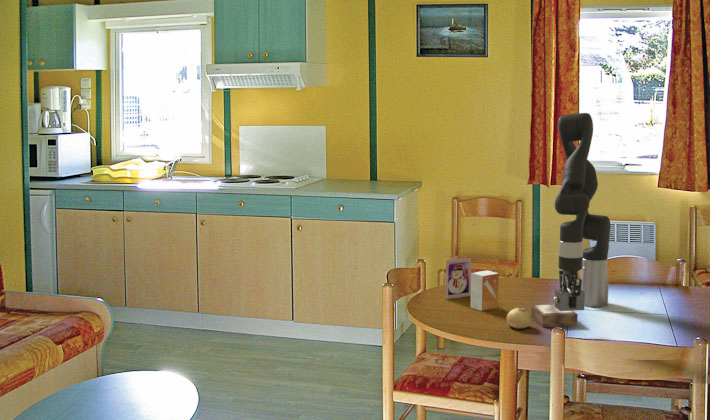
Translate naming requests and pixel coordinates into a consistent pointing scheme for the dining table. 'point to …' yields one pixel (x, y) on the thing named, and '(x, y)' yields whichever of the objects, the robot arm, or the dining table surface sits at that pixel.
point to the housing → (563, 300)
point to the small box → (484, 290)
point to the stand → (553, 316)
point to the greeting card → (458, 277)
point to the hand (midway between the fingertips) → (569, 305)
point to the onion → (518, 318)
